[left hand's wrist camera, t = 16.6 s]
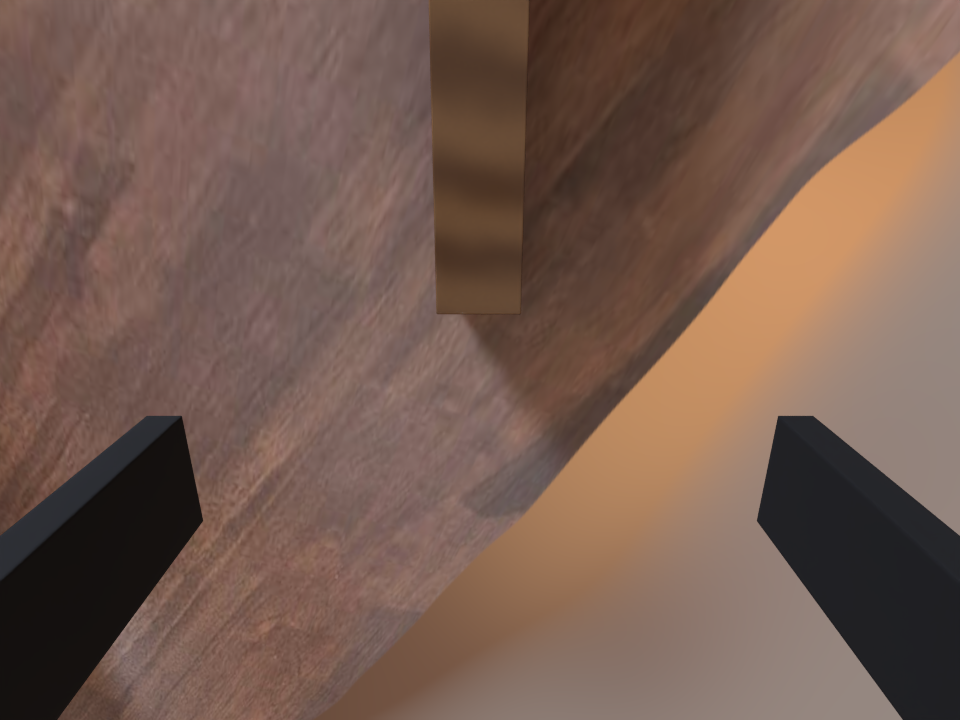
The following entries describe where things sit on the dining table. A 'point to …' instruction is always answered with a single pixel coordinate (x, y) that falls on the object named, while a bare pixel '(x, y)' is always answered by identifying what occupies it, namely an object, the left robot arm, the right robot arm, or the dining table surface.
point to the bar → (478, 152)
